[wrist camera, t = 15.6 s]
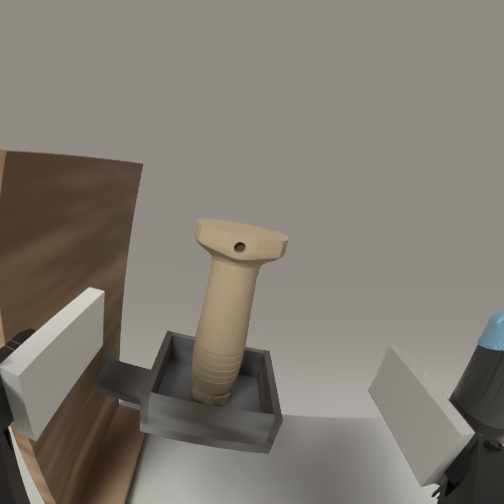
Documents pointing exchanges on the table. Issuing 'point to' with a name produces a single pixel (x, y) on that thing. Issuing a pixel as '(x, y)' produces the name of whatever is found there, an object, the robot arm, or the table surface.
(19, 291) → the bracket
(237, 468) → the table surface
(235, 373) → the handle
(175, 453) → the table surface
